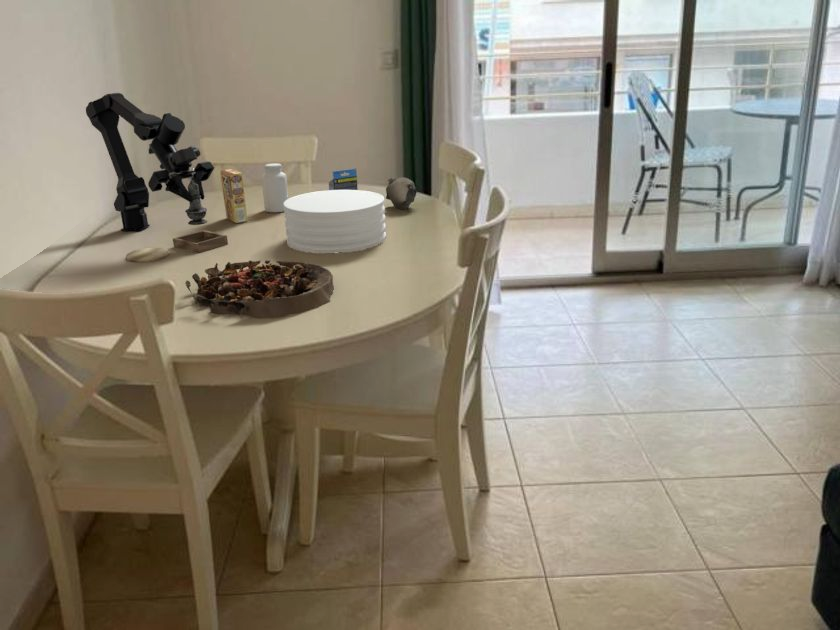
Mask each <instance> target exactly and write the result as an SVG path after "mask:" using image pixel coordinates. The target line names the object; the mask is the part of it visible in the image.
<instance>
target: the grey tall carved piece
mask: <svg viewBox="0 0 840 630" xmlns="http://www.w3.org/2000/svg"><path fill="white" fill-rule="evenodd" d="M191 182H192V183H191V184H188V185H187V191H188V192H189V194H190V195H191V197H192V199H193V201H192V202H189V208H188V209H187V208H186V209H185V213H186V216H187V217H188V218H189V219H190V220H189V221H187V224H188V225H191V226H200V225H206V224H207V223H208V220H206V219H205V217H206V215H207V211H208V209H207V208H206V207H203V206H202V201H201V198H200V197H201V196H200V195H199V187H198V185H197V184H196V183H193V182H194V181H193V180H192V181H191Z"/></svg>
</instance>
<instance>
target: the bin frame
mask: <svg viewBox="0 0 840 630" xmlns="http://www.w3.org/2000/svg"><path fill="white" fill-rule="evenodd" d="M172 242H173V243H172V245H173V248H176V249H180V250H183V251H184V250H185V251H188V252H191V253H195V254H197V253H202V252H205V251H209V250H213V249H215V248H219V247H223V246H227V245H228V244H229V242H228V235H227V234H222V233H217V232H213V231H209V230H204V229H203V230H199V231H195V232H191V233H188V234H185V235H180V236H176V237H173V238H172Z"/></svg>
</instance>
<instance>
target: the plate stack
mask: <svg viewBox="0 0 840 630" xmlns="http://www.w3.org/2000/svg"><path fill="white" fill-rule="evenodd" d="M284 209H285V211H284V213H283V214H284V219H285V221H284V222H285V229H286V230H285V233H286V234H285V235H286V237H287V238H286V244H287V246H288V247H289V248H291V249H292V248H293V250H295V249H296V250H295V251H298V250H299V252H302V251H305V252H304V253H308V252H314V253H313V254H319V253H335V252H348V253H352V252H351V251H355V252H358V251H357V250H360V251H363V250H362V249H365V250H367V249H366V248H369V249H371V248H370V247H372V248H374V247H373V246H375V247H377V246H379V245H381V244H383V243H384V242H385V241H386V240H387V233H386V227H387V226H386V215H385V213H386V211H385V210H386V208H385V197H384V196H383V195H382V194H381V193H378V192H374V191H369V190H360V189H358V190H329V189H328V190H318V191H312V192H305V193H301V194H298V195H294V196H291V197H288V199H287V200H286V201H285V202H284ZM385 239H386V240H385ZM384 240H385V241H384ZM383 241H384V242H383ZM382 242H383V243H382ZM380 243H381V244H380ZM378 244H379V245H378ZM376 245H377V246H376ZM335 254H336V253H335Z"/></svg>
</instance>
